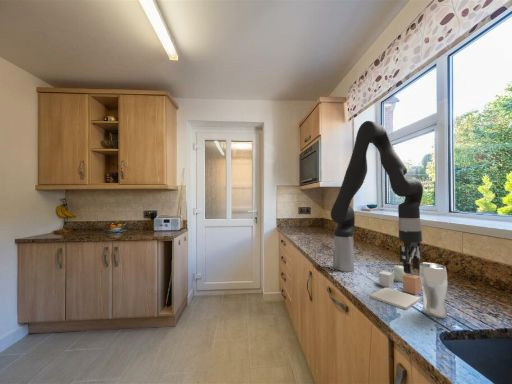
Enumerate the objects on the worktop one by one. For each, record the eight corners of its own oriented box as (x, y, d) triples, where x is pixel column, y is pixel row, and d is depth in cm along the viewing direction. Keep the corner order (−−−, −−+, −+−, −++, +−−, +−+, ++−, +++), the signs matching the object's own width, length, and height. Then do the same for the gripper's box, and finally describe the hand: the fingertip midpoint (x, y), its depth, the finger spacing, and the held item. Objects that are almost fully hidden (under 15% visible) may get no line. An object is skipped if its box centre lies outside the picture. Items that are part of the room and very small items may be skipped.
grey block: (379, 284, 95) (378, 272, 95) (383, 282, 97) (383, 270, 97) (389, 287, 92) (388, 275, 92) (393, 285, 94) (393, 273, 94)
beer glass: (415, 308, 74) (413, 262, 75) (435, 307, 75) (433, 262, 75) (433, 319, 67) (431, 269, 68) (455, 318, 68) (453, 268, 68)
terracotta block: (403, 290, 88) (402, 275, 88) (407, 288, 91) (407, 273, 91) (416, 294, 85) (415, 278, 85) (420, 291, 87) (420, 276, 87)
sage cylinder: (392, 280, 100) (392, 266, 100) (396, 278, 102) (396, 264, 102) (402, 282, 97) (402, 268, 97) (406, 280, 99) (406, 266, 99)
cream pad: (370, 297, 83) (369, 295, 83) (385, 289, 90) (385, 287, 90) (406, 310, 73) (406, 307, 73) (420, 299, 80) (420, 297, 80)
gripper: (406, 226, 96) (408, 265, 95) (391, 230, 87) (393, 272, 87) (427, 228, 90) (430, 269, 89) (413, 232, 81) (415, 277, 81)
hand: (411, 270), depth 88 cm, fingers open, 8 cm apart
